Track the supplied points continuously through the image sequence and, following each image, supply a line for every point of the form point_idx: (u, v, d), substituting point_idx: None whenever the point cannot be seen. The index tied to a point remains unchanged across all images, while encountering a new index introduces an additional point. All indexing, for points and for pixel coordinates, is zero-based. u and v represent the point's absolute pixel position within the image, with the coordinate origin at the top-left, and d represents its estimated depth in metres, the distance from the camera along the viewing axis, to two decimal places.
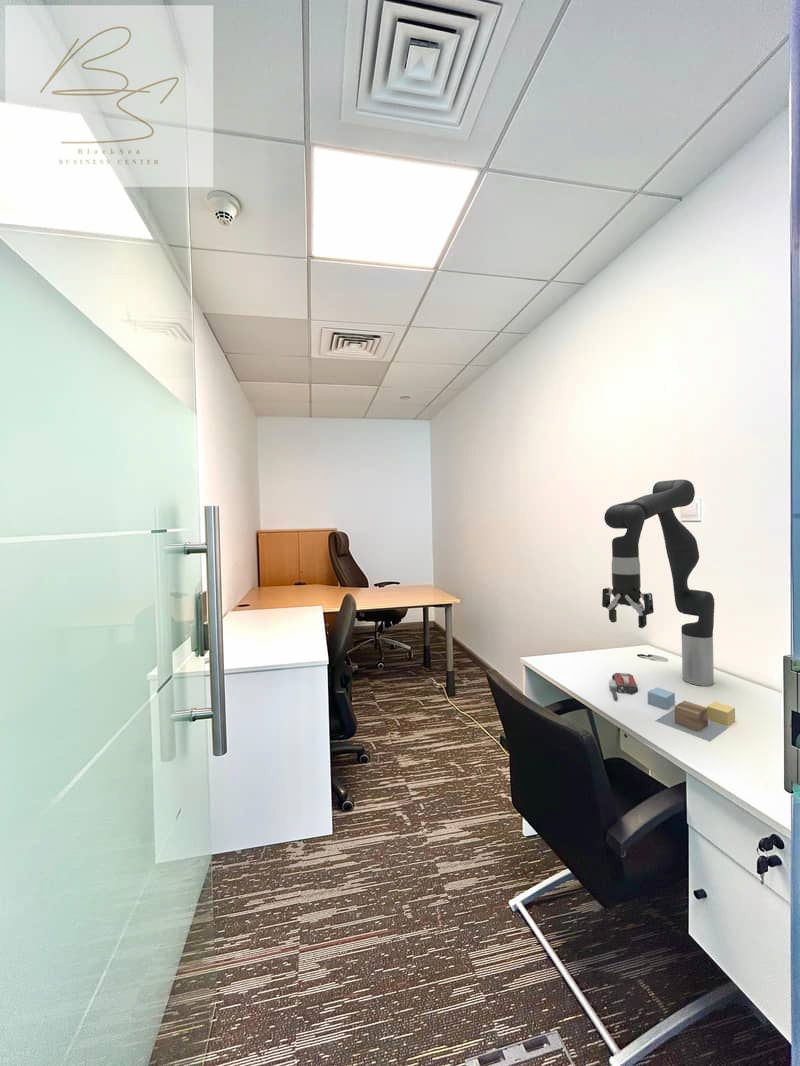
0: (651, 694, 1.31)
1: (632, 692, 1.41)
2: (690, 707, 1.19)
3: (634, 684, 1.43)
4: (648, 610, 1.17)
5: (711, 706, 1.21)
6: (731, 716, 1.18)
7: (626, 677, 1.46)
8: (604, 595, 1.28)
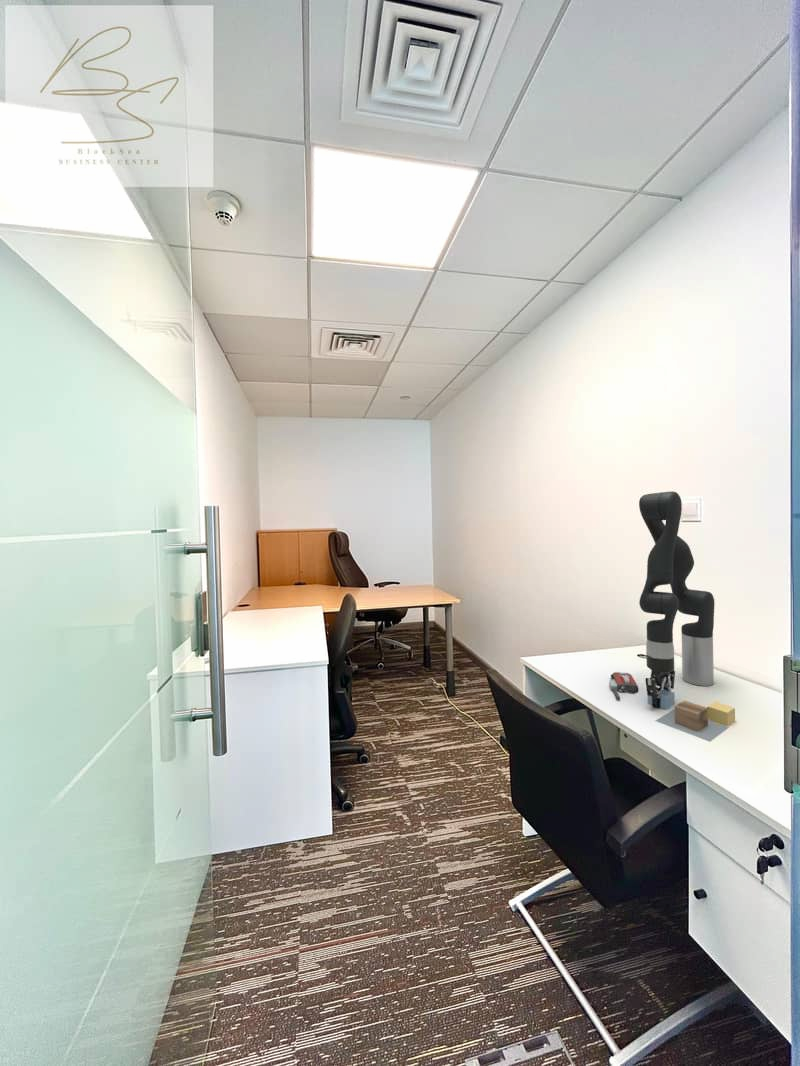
0: None
1: (633, 691, 1.42)
2: (690, 707, 1.19)
3: (634, 683, 1.44)
4: (673, 684, 1.34)
5: (711, 706, 1.21)
6: (731, 716, 1.18)
7: (626, 676, 1.47)
8: (655, 686, 1.27)
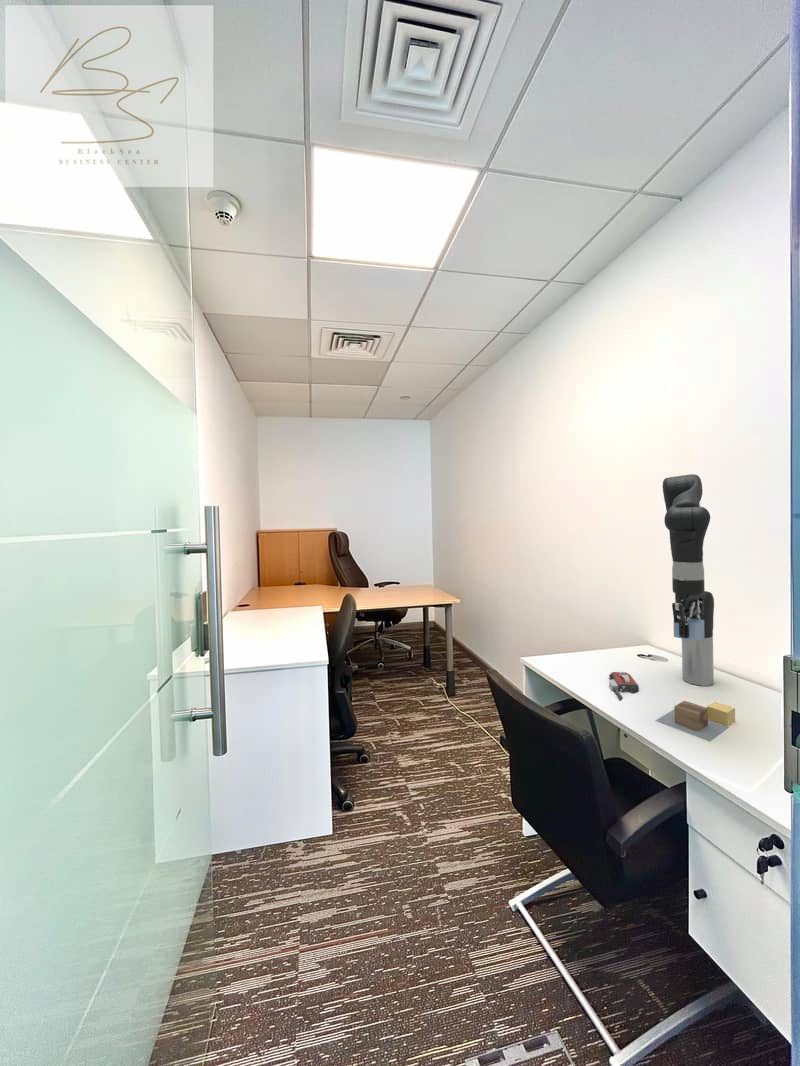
0: None
1: (634, 691, 1.42)
2: (690, 707, 1.19)
3: (634, 682, 1.45)
4: (702, 613, 1.20)
5: (711, 706, 1.21)
6: (731, 716, 1.18)
7: (626, 676, 1.47)
8: (683, 611, 1.14)
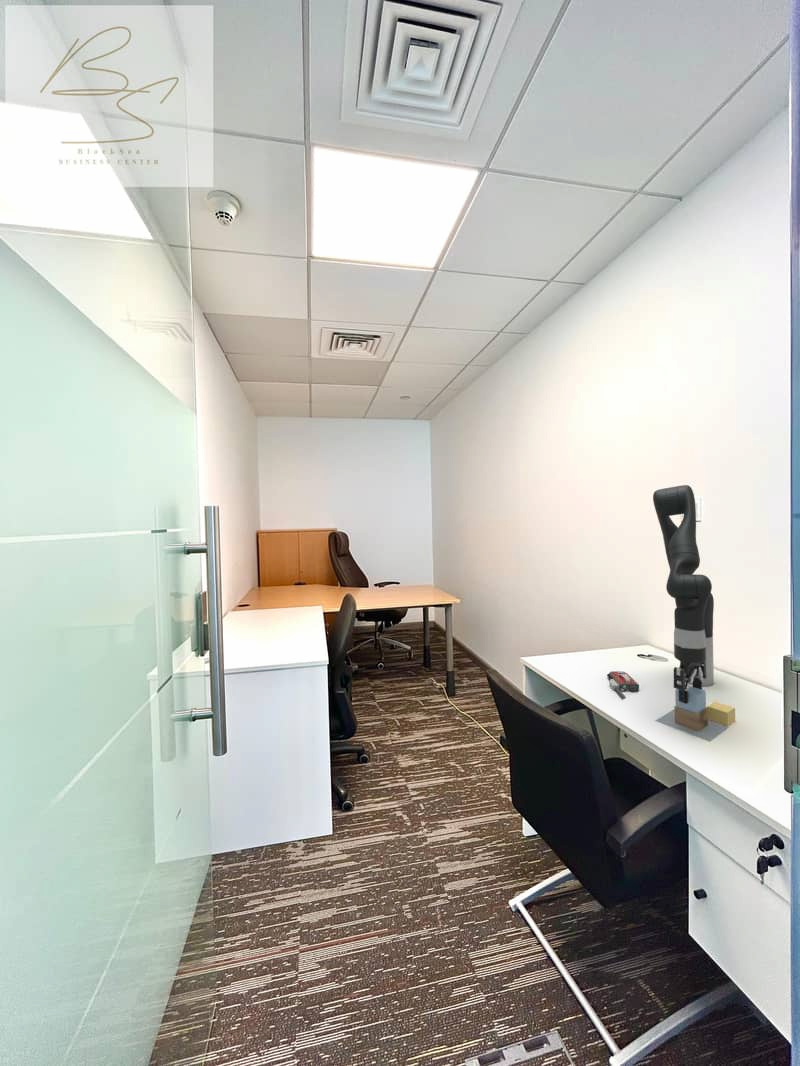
0: None
1: (634, 690, 1.43)
2: None
3: (634, 682, 1.45)
4: (705, 674, 1.21)
5: (711, 706, 1.21)
6: (731, 716, 1.18)
7: (625, 675, 1.48)
8: (684, 677, 1.14)
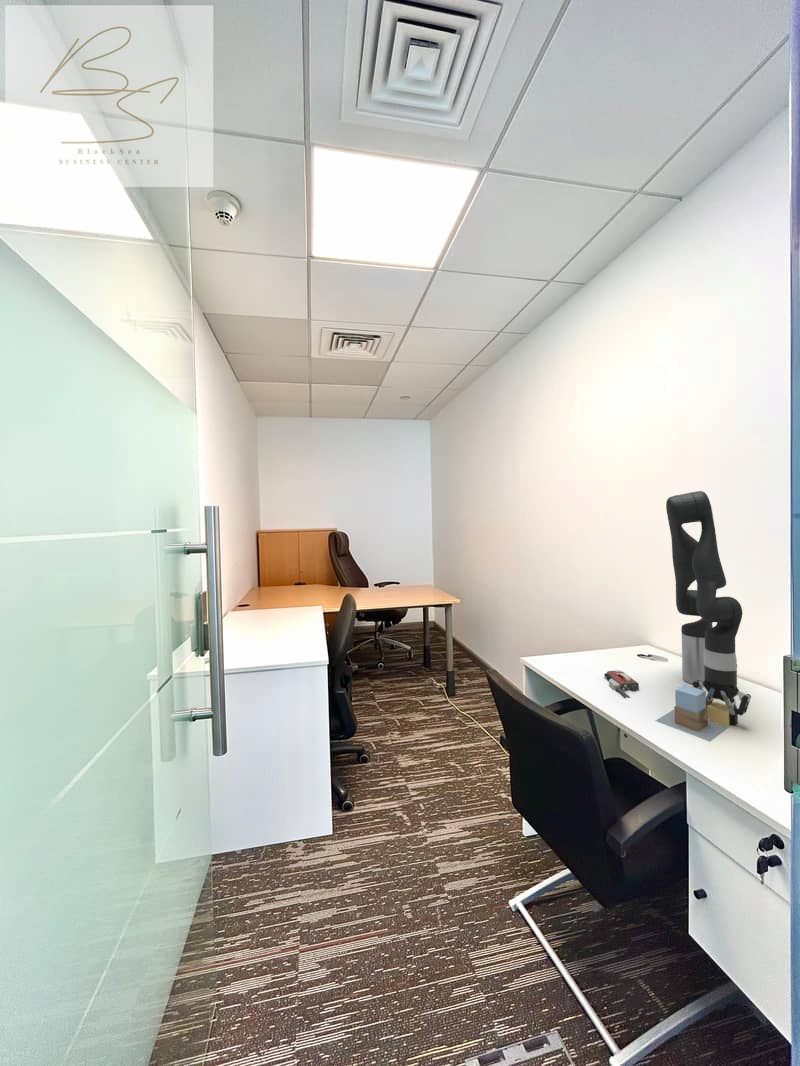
0: (679, 692, 1.19)
1: (635, 689, 1.44)
2: None
3: (634, 680, 1.46)
4: None
5: (711, 706, 1.21)
6: None
7: (624, 674, 1.48)
8: None
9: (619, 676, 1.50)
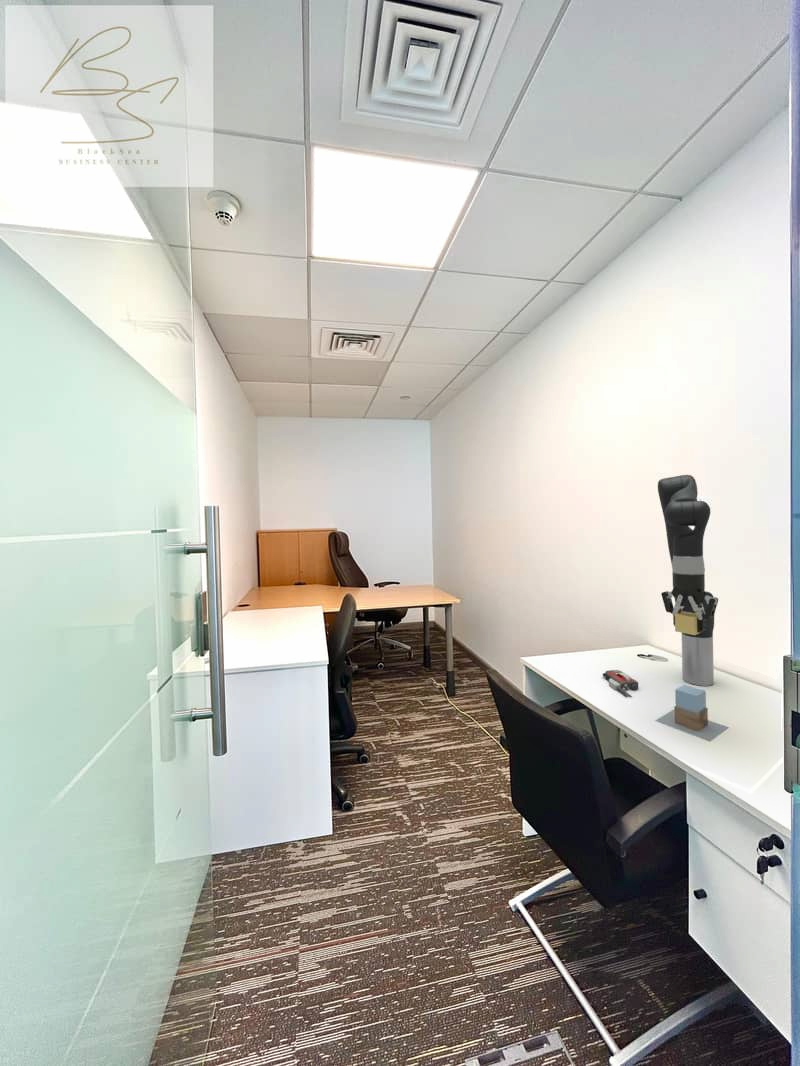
0: (679, 692, 1.19)
1: (635, 688, 1.44)
2: None
3: (633, 680, 1.47)
4: None
5: (679, 614, 1.18)
6: None
7: (624, 674, 1.49)
8: None
9: (618, 676, 1.51)
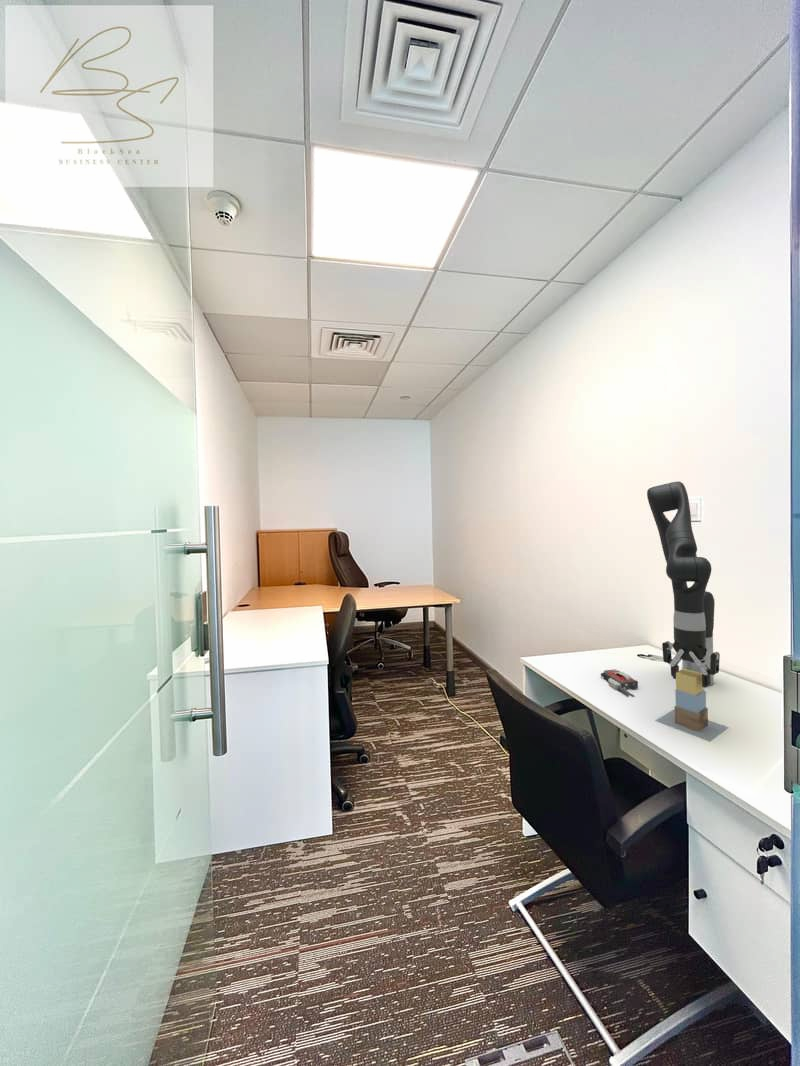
0: (679, 692, 1.19)
1: (635, 687, 1.45)
2: None
3: (632, 679, 1.48)
4: None
5: (680, 672, 1.19)
6: (699, 681, 1.17)
7: (623, 673, 1.49)
8: None
9: (617, 675, 1.51)
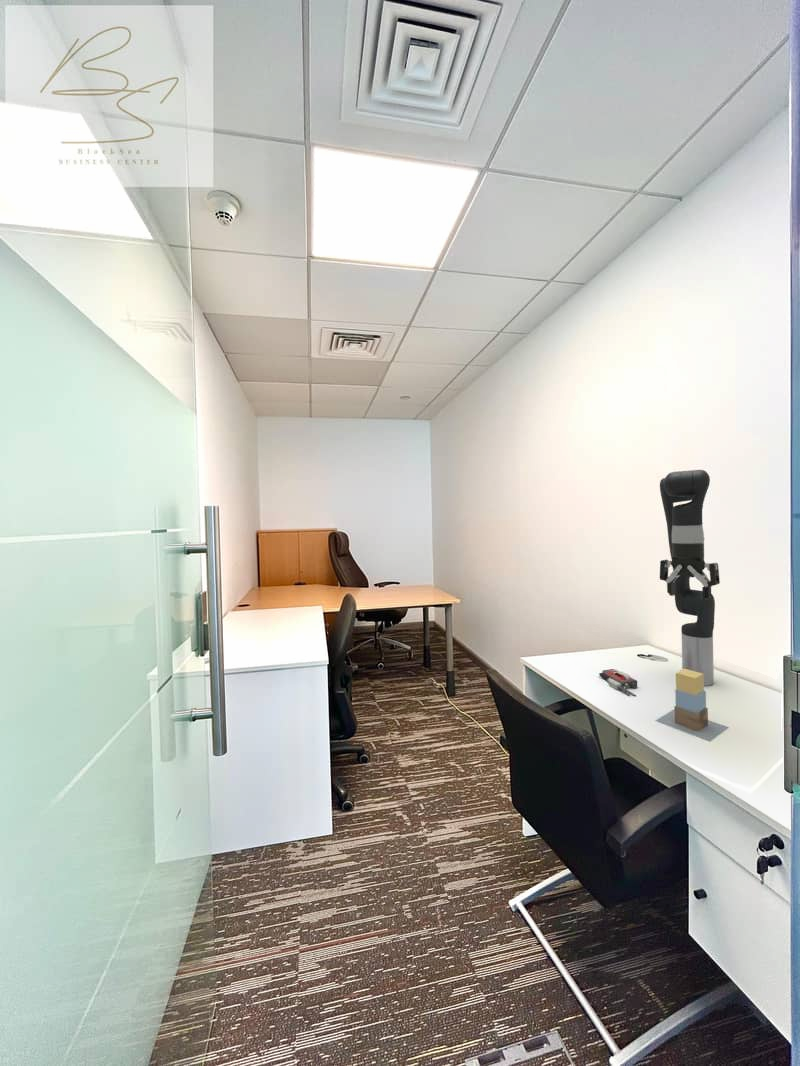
0: (679, 692, 1.19)
1: (635, 686, 1.46)
2: None
3: (632, 678, 1.48)
4: None
5: (680, 672, 1.19)
6: (699, 681, 1.17)
7: (622, 673, 1.50)
8: None
9: (616, 675, 1.51)
